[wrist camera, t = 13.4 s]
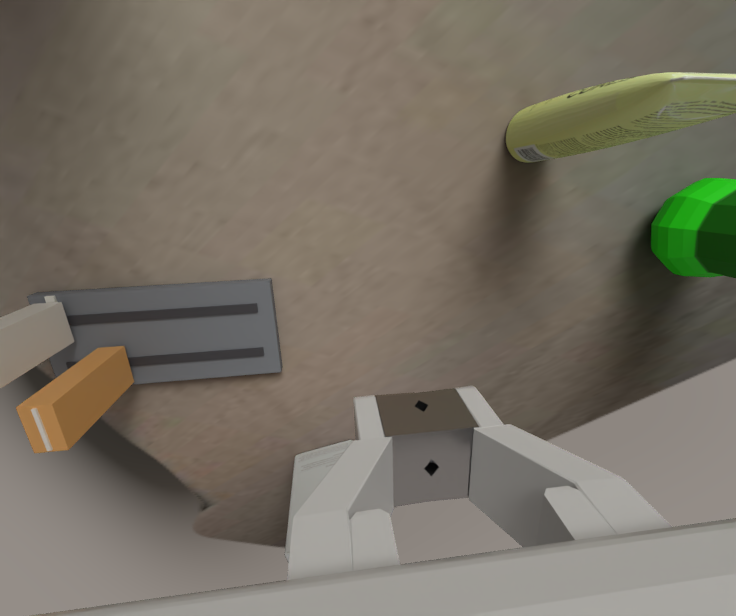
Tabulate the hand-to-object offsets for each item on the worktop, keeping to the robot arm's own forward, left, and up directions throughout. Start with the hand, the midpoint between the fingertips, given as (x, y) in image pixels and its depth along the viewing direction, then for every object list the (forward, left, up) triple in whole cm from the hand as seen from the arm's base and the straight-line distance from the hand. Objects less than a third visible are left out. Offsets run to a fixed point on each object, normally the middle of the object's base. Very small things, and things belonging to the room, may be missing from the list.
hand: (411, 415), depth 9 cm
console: (-5, -20, -29) cm, 36 cm away
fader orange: (-6, -25, -27) cm, 38 cm away
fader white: (-12, -26, -27) cm, 39 cm away
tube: (+4, +20, -29) cm, 36 cm away
